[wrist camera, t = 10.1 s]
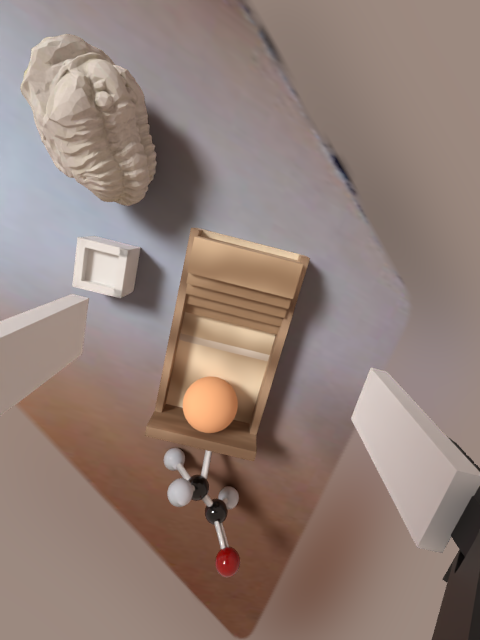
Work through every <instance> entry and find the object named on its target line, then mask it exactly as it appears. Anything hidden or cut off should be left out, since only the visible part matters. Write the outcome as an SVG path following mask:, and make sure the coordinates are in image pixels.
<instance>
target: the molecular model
mask: <svg viewBox="0 0 480 640" xmlns="http://www.w3.org/2000/svg"><path fill="white" fill-rule="evenodd" d="M211 454H212V451H208V450H206V451H205V456H204V461H203V467H202V472H201V475H194V476H192V477H191V476H190V475H189V473H188V472H187V471H186V469H185V468H184V466H183V465H184V463H185V454H184V452H183V451H182V450H181V449H179V448H172V449H170V450H168V451H167V452H166V454H165V456H164V464H165V466H166V468H167V469H169V470H171V471H176V470H178V471H179V473H180V474H181V476H182V477H183V478H179V479H176V480H174V481H173V482H172V483H171V484H170V486H169V488H168V492H167V495H168V499H169V501H170V503H171V504H172V505H174V506H176V507H182V506H185V505H187V504H188V503H189V502H190V500H191V499H192V500H194V501H199V500H203V501H204V503H205V504H206V508H205V517H206V519H207V520H208V522H209V523H211V524H213V525H215V527H216V531H217V535H218V539H219V543H220V547H221V550H220V551H219V552H218V554H217V556H216V560H215V564H216V569H217V571H218V572H219V574H220V575H222V576H224V577H231V576H233V575H235V574H236V573H237V571H238V569H239V566H240V557H239V554H238V552H237V551H236V550H235V549H234V548H232V547H229V545H228V542H227V538H226V535H225V531H224V527H223V524H222V522H223V521H224V520H225V519H226V517H227V513H228V510H230V509H233V508H234V507H235V506H236V505H237V504H238V501H239V495H238V492H237V490H236V489H235V488H233V487H230V486H227V487H224V488H223V489H222V490H221V491H220V493H219V497H218V499H213V500H211V498H210V497H209V496H208V495H207V493H208V490H209V484H208V481H207V477H208V471H209V465H210V460H211Z"/></svg>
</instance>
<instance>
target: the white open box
mask: <svg viewBox="0 0 480 640" xmlns="http://www.w3.org/2000/svg"><path fill="white" fill-rule="evenodd" d="M140 248H141V247H137V246H133V245H129V244H125V243H121V242H117V241H113V240H109V239H105V238H101V237H97V236H88V237H78V239H77V248H76V258H75V267H74V276H73V285H72V286H73V287H77V288H81V289H85V290H89V291H93V292H97V293H101V294H105V295H109V296H113V297H117V298H122V297H124V296H126V295H128V294H130V293H131V292H133V291H134V286H135V279H136V273H137V267H138V261H139V254H140Z"/></svg>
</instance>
